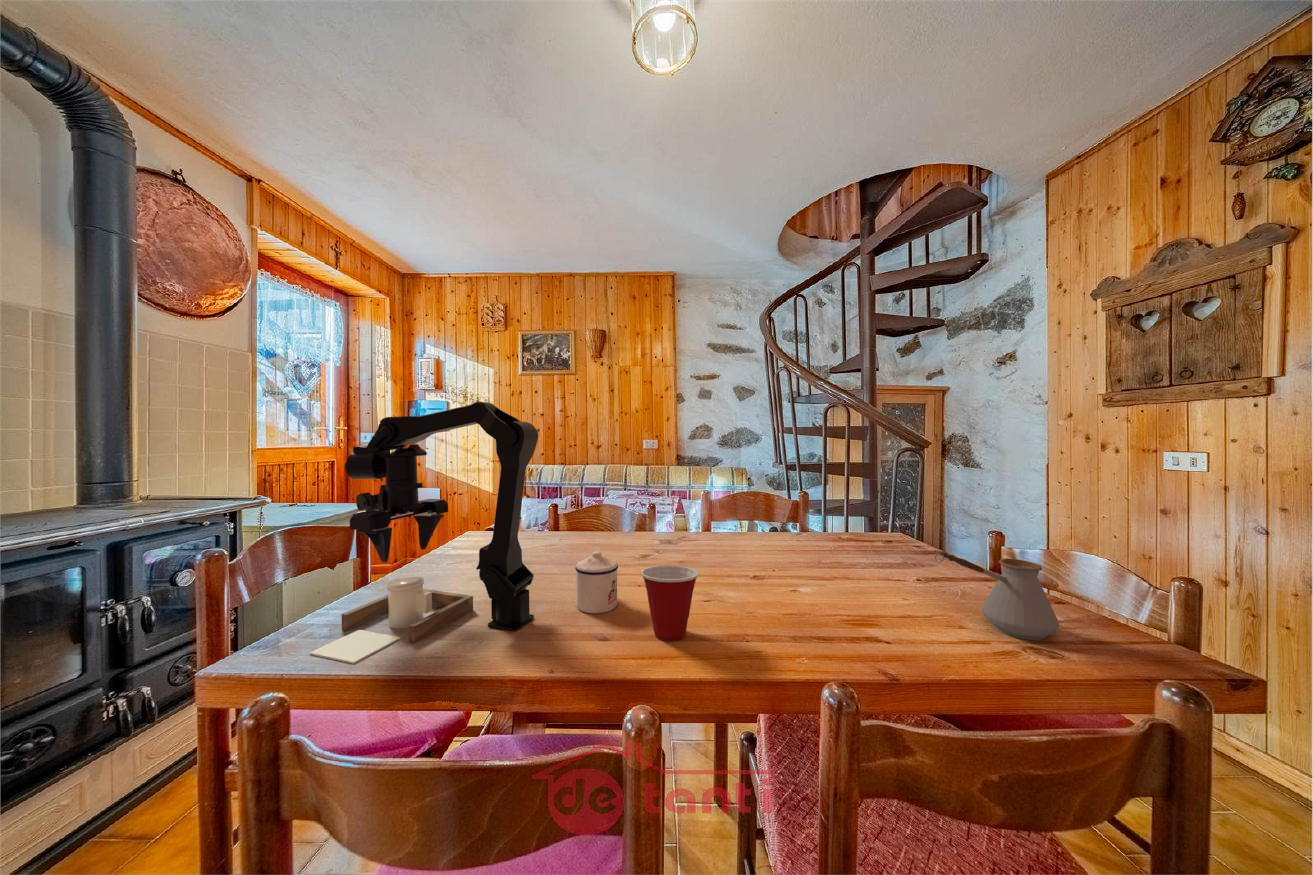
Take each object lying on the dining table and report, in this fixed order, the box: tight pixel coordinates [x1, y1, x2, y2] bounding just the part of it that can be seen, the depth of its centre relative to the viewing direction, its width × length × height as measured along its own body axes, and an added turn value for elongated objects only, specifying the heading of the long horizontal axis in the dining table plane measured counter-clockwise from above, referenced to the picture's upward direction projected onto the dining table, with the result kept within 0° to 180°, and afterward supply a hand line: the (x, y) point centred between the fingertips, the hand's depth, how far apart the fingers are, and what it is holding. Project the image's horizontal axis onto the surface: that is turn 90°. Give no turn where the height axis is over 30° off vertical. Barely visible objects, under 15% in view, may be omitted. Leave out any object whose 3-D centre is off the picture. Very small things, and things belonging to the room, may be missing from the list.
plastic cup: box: [640, 565, 700, 642], centre depth 84 cm, size 11×11×12 cm
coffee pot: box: [934, 551, 1060, 641], centre depth 86 cm, size 21×12×15 cm, turn 89°
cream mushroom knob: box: [386, 575, 433, 630], centre depth 89 cm, size 9×6×8 cm
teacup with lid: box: [575, 550, 619, 614], centre depth 99 cm, size 12×9×12 cm
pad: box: [309, 629, 402, 665], centre depth 79 cm, size 10×9×1 cm
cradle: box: [341, 588, 474, 644], centre depth 90 cm, size 17×15×3 cm
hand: (404, 555), depth 92 cm, fingers open, 9 cm apart
